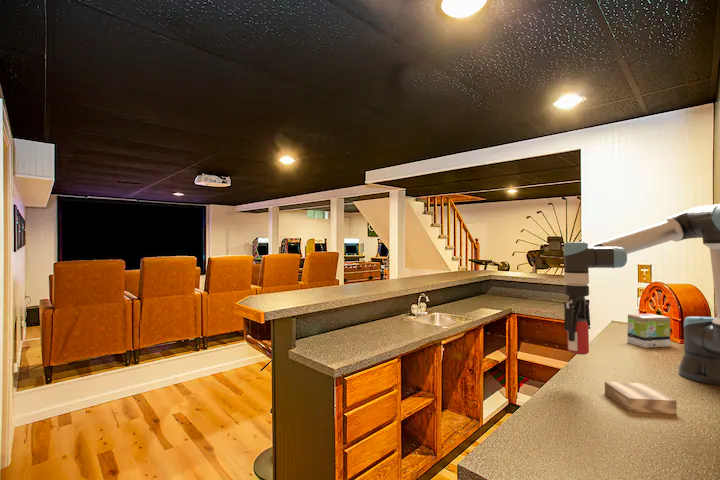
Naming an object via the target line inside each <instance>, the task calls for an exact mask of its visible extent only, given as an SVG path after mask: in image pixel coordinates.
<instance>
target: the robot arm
mask: <svg viewBox="0 0 720 480" xmlns="http://www.w3.org/2000/svg"><path fill="white" fill-rule="evenodd" d="M698 238H699V239H700V238H701V239H702V245H704V246H706V247H707V248H709V252H710V254H709V255H710V263H711V269H712V279H713V289H714V296H715V307H716V315H717V316H716V317H714V316H697V315H696V316H693V315H692V316H686V317H685V318H684V321H683V326H682V327H683V336H684V337H683V342H684V343H683V345H684V347H683V348H684V349H683V350H684V354H683V357H682V359H681V361H680V364H679V365H678V374H679V375H680V376H682V377H684V378H686V379H688V380H691V381H695V382H700V383H703V384H708V385H715V386H720V203H717V204H711V205H701V206H695V207H693V208H690V209H687V210H685V211H683V212H679V213H677V214H673V215H671V216H669V217H666V218H664V219H663V220H662V222H658V223H656V224H653V225H649V226H646V227H643V228H640V229H637V230H634V231H630V232H628V233H625V234H621V235H618V236H615V237H612V238H609V239H606V240H603V241H600V242H596V243H593V244H591V245H590V244H588V242H587V241H573V242H572V241H568V242H565V243H564V245H563V266H564V267H563V269H564V274H563V277H564V283H565V284H564V294H565V295H566V296H568V301H567V302H566V301H565V302H564V303H563V306H564V319H563V320H564V325H563V327H564V328H563V329H564V331H565V332H567V331H568V345H569V349H570V350H574V351H578V344H577V332H576V325H577V318H583V319H586V320H587V324H588V330H590V329H591V317H590V314H591V313H590V299H586V297H589V295H590V286H589V283H590V280H589V279H590V276H589V275H590V274H589V272H590V271H589V269H594V268H596V269H597V268H598V269H600V268H601V269H616V268H618V269H619V268H623V267H625V266H626V264H627V263H628V254H632V253H635V252H638V251H639V252H640V251H641V250H642V251H643V250H645V249H648V248H652V247H655V246H658V245H661V244H664V243H668V242H670V241H672V242H680V241H683V240H684V241H685V240H689V239H698ZM568 345H567V346H568Z"/></svg>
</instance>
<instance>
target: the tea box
mask: <svg viewBox="0 0 720 480" xmlns="http://www.w3.org/2000/svg"><path fill="white" fill-rule="evenodd" d="M626 334H627V338H626V339H627V341H626V342H627V344H628V343H629V344H631V345H634V346H637V347H641V348H645V349H647V348H659V347H663V348H664V347H670V346H671V316H670V317H669V316H664V315H659V314H655V313H633V314H631V313H630V314H629V313H628V315H627V333H626Z"/></svg>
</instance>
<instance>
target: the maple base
mask: <svg viewBox="0 0 720 480" xmlns="http://www.w3.org/2000/svg"><path fill="white" fill-rule="evenodd" d="M604 394H605V395H607V397H609V398H610V399H611V400H613V401H615V402H616V403H617V404H618V405H620V406H621V407H623V409H625V410H627V411H628V412H630V413H650V414H667V415H668V414H670V415H677V414H678V413H677V408H678V407H677V400H676V399H674V398H673V397H671V396H669V395H667V394H665V392H662V391H661V390H659V389H657V388H656V387H654V386H652V385H650V384H648V383H646V382H645V383H643V382H624V381H623V382H622V381H621V382H620V381H619V382H618V381H604Z"/></svg>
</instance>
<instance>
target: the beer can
mask: <svg viewBox="0 0 720 480" xmlns="http://www.w3.org/2000/svg"><path fill="white" fill-rule="evenodd" d="M576 332H577V344H578V351H574V350H570V349H569V345H568V331H566V334H567V335H566V337H567V339H566V340H567V345H566V346H567V351H568V352H569V353H571V354H575V355H588V354H589V352H590V344H589V343H590V341H589V340H590V339H589V338H590V336H589V329H588V324H587V320H586V319H583V318H577V325H576Z"/></svg>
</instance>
